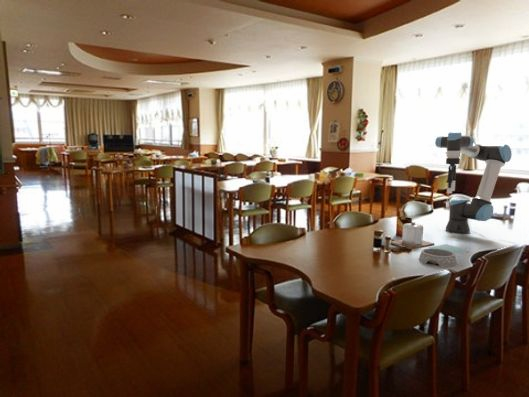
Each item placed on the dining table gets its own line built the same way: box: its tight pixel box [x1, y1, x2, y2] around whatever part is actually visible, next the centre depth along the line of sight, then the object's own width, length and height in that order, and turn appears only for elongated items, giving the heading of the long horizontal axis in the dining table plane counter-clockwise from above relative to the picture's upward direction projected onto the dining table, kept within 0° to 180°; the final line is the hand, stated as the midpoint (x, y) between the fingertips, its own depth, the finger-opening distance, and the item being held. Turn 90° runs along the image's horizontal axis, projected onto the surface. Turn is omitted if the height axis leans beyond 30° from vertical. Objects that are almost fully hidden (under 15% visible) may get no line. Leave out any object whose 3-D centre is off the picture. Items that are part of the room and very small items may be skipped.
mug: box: [395, 216, 413, 238], centre depth 255 cm, size 10×14×12 cm
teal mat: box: [427, 243, 471, 255], centre depth 223 cm, size 16×16×1 cm
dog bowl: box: [418, 247, 458, 268], centre depth 202 cm, size 17×18×5 cm
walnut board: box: [391, 239, 435, 250], centre depth 235 cm, size 20×16×2 cm
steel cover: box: [401, 221, 424, 245], centre depth 233 cm, size 11×11×13 cm
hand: (450, 192), depth 237 cm, fingers open, 13 cm apart
